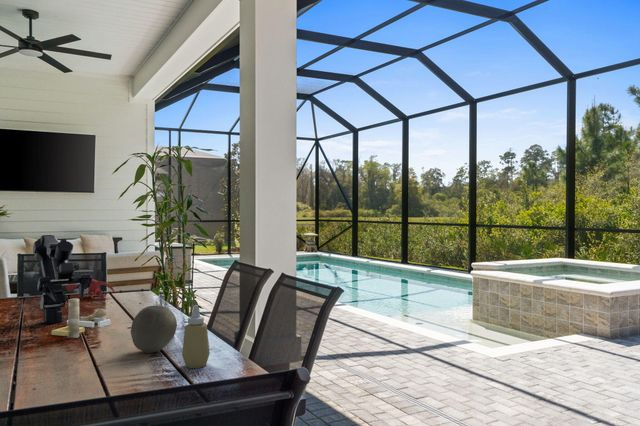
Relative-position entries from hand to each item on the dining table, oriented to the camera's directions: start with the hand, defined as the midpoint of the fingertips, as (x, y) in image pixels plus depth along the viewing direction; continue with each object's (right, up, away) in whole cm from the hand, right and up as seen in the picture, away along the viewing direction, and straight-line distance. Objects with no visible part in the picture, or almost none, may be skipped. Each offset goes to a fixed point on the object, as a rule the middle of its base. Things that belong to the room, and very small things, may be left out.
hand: (69, 299), depth 195 cm
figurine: (-1, -13, +17) cm, 21 cm away
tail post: (+4, -13, -6) cm, 15 cm away
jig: (-2, -13, +9) cm, 16 cm away
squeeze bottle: (+59, -13, -43) cm, 74 cm away
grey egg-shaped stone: (+41, -13, -26) cm, 50 cm away
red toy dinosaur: (-30, -14, +87) cm, 93 cm away
